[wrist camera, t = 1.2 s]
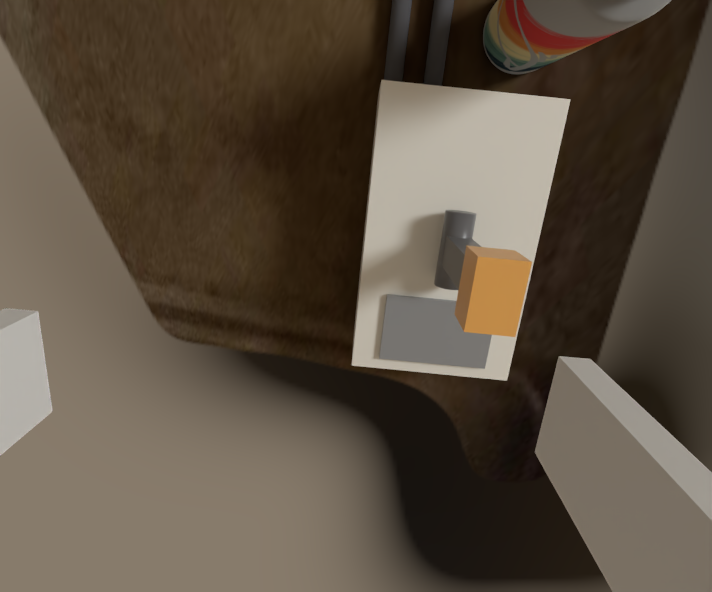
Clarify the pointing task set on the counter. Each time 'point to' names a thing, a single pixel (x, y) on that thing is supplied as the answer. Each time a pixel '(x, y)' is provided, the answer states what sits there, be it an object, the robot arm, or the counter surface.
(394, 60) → the parallel rod pair
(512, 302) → the lever
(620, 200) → the counter surface
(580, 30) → the lotion bottle
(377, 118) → the block
